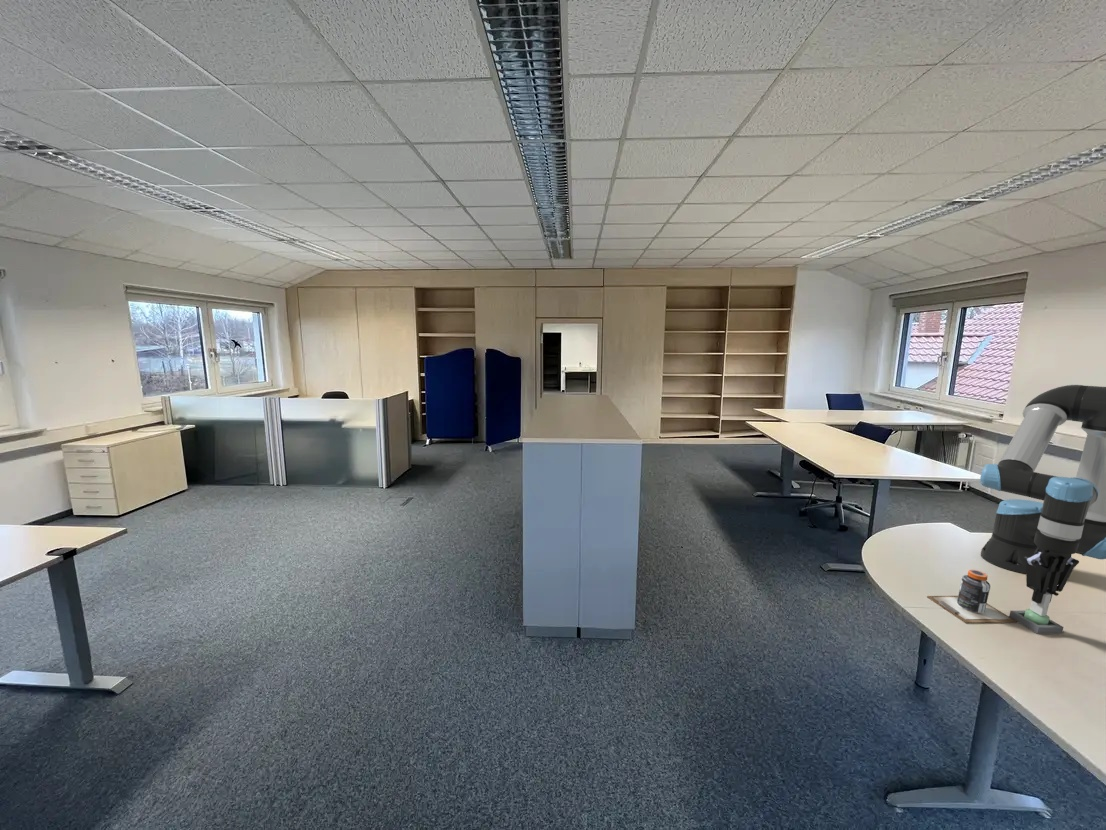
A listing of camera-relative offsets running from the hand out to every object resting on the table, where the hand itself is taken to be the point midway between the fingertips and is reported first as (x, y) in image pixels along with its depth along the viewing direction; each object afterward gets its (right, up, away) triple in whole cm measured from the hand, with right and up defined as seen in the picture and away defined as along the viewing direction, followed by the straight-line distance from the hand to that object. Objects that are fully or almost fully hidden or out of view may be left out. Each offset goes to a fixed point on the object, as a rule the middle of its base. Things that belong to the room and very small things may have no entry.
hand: (1037, 612), depth 116 cm
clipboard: (-12, -3, +7) cm, 14 cm away
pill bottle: (-12, -2, +7) cm, 14 cm away
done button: (0, -3, +1) cm, 3 cm away
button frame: (0, -4, +1) cm, 4 cm away
